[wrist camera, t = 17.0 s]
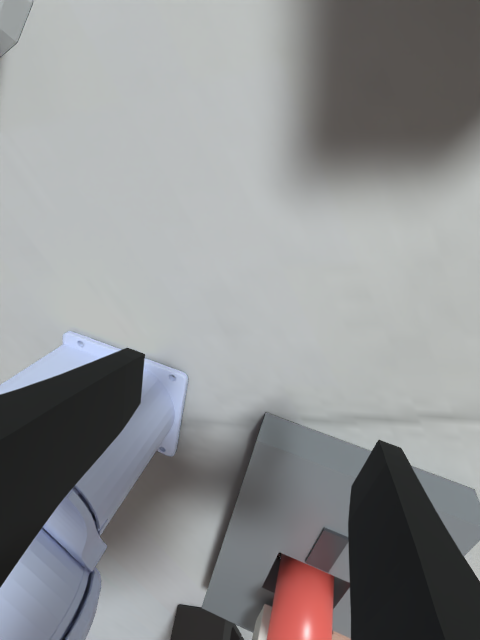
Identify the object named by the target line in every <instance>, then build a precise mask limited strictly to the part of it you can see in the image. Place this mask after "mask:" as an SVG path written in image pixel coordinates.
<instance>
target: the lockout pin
mask: <svg viewBox="0 0 480 640" xmlns="http://www.w3.org/2000/svg"><path fill="white" fill-rule="evenodd" d="M333 597H334V576H333V575H331V574H328V573H326V572H324V571H321V570H319V569H317V568H314V567H312V566H310V565H308V564H305V563H303V562H301V561H298V560H296V559H294V558H292V557H289V556H287V555H285V554H281V560H280V565H279V571H278V577H277V583H276V588H275V594H274V600H273V606H272V611H271V617H270V623H269V629H268V634H267V640H332V623H333Z"/></svg>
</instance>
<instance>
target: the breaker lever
mask: <svg viewBox="0 0 480 640" xmlns="http://www.w3.org/2000/svg"><path fill="white" fill-rule="evenodd" d="M271 611H272V607H271V606H269V605H267V604H264V606H263V608H262V610H261V612H260V614H259V616H258V618H257V620H256V623H255V628H254V633H253V638H252V640H267V634H268V629H269V623H270V617H271Z"/></svg>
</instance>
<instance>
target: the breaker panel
mask: <svg viewBox="0 0 480 640" xmlns="http://www.w3.org/2000/svg"><path fill="white" fill-rule="evenodd" d="M371 452H372V451H369V450H367V449H364V448H361V447H358V446H356V445H353V444H350V443H348V442H345V441H342V440H339V439H337V438H334V437H331V436H329V435H326V434H323V433H321V432H318V431H315V430H312V429H310V428H307V427H304V426H302V425H299V424H296V423H294V422H291V421H288V420H285V419H283V418H280V417H277V416H275V415H272V414H269V413H267V412H266V413H265V417H264V420H263V423H262V426H261V429H260V432H259V435H258V438H257V441H256V444H255V447H254V450H253V453H252V456H251V459H250V462H249V465H248V468H247V471H246V474H245V477H244V480H243V483H242V486H241V489H240V492H239V495H238V498H237V501H236V504H235V507H234V510H233V514H232V517H231V520H230V523H229V526H228V529H227V532H226V535H225V538H224V541H223V544H222V547H221V550H220V553H219V556H218V559H217V562H216V565H215V568H214V571H213V574H212V577H211V580H210V583H209V586H208V589H207V592H206V595H205V599H204V602H203V605H202V608H203V609H205V610H207V611H209V612H211V613H213V614H215V615H217V616H219V617H222V618H224V619H226V620H228V621H230V622H232V623H234V624H236V625H238V626H240V627H242V628H244V629H246V630H248V631H251V632H253V633H254V628H255V623H256V620H257V618H258V616H259V614H260V612H261V610H262V608H263V606H264V604H267V605H269V606H271V607H272V606H273V600H274V594H275V588H276V583H277V577H278V571H279V565H280V559H277V558H276V557H277V555H278V553H279V552H280V553H282V554H285V555H287V556H289V557H292V558H294V559H296V560H298V561H301V562H303V563H305V564H308V565H310V566H312V567H314V568H317V569H319V570H321V571H324V572H326V573H328V574H331V575H333V576H334V597H333V623H332V640H351V606H350V575H349V542H348V518H349V505H350V495H351V486H352V484H353V483H354V481H355V479H356V477H357V476H358V474H359V472H360V471H361V469H362V467H363V466H364V464H365V462H366V460H367V459H368V457H369V455H370V454H371ZM411 467H412V466H411ZM412 468H413V470H414V472H415V474H416V476H417V477H418V479H419V481H420V483H421V485H422V487H423V488H424V490H425V492H426V494H427V496H428V497H429V499H430V501H431V503H432V504H433V506H434V508H435V510H436V511H437V513H438V515H439V517H440V518H441V520H442V522H443V524H444V525H445V527H446V529H447V530H448V532H449V534H450V535H451V537H452V539H453V540H454V542H455V543H456V545H457V547H458V548H459V550H460V552H461V553H462V555H463V556H465V555H466V554H467V553H468V552H469V551H470V550H471V549H472V548H473V547H474V546H475V545H476V544H477V543H478V542H479V541H480V502H479V500H478V497H477V494H476V492H475V489H472V488H469V487H466V486H464V485H461V484H458V483H456V482H453V481H450V480H448V479H445V478H442V477H439V476H437V475H434V474H431V473H429V472H426V471H423V470H421V469H418V468H415V467H412Z"/></svg>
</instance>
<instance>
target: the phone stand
mask: <svg viewBox="0 0 480 640" xmlns="http://www.w3.org/2000/svg"><path fill="white" fill-rule="evenodd" d="M241 636H242V635H241V633H240V632H239V630H238V628H237V626H236V625H235V624H234V623H232V622H230V621H228V620H226V619H224V618H222V617H219V616H217V615H215V614H213V613H211V612H209V611H207V610H205V609H203V608H198V607H191V606H185V605H179V606H178V608H177V612H176V616H175V621H174V626H173V630H172V635H171V640H244V639H243V637H241Z"/></svg>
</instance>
